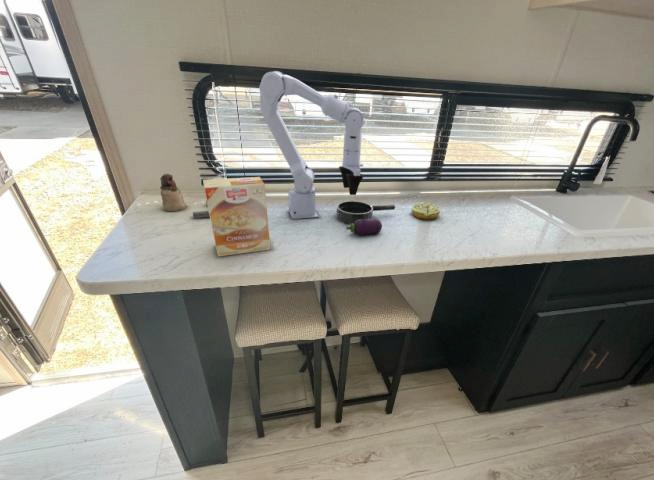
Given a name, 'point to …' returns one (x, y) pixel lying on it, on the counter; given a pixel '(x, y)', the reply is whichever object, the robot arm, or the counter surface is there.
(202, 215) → the door handle
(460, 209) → the counter surface
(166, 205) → the figurine
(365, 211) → the pan
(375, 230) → the eggplant
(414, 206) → the decorated donut
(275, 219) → the counter surface
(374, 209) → the pan handle
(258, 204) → the coffeecake box
